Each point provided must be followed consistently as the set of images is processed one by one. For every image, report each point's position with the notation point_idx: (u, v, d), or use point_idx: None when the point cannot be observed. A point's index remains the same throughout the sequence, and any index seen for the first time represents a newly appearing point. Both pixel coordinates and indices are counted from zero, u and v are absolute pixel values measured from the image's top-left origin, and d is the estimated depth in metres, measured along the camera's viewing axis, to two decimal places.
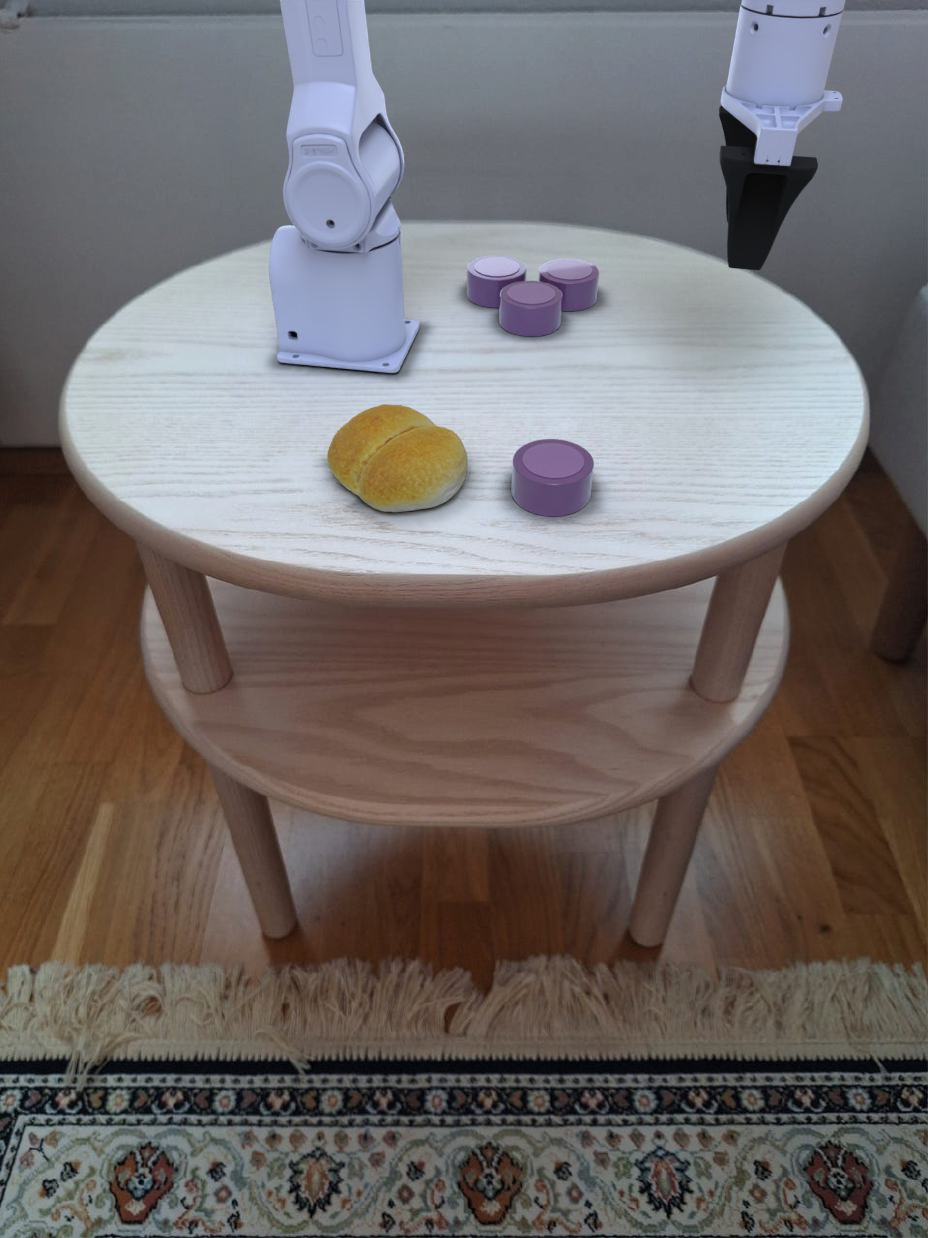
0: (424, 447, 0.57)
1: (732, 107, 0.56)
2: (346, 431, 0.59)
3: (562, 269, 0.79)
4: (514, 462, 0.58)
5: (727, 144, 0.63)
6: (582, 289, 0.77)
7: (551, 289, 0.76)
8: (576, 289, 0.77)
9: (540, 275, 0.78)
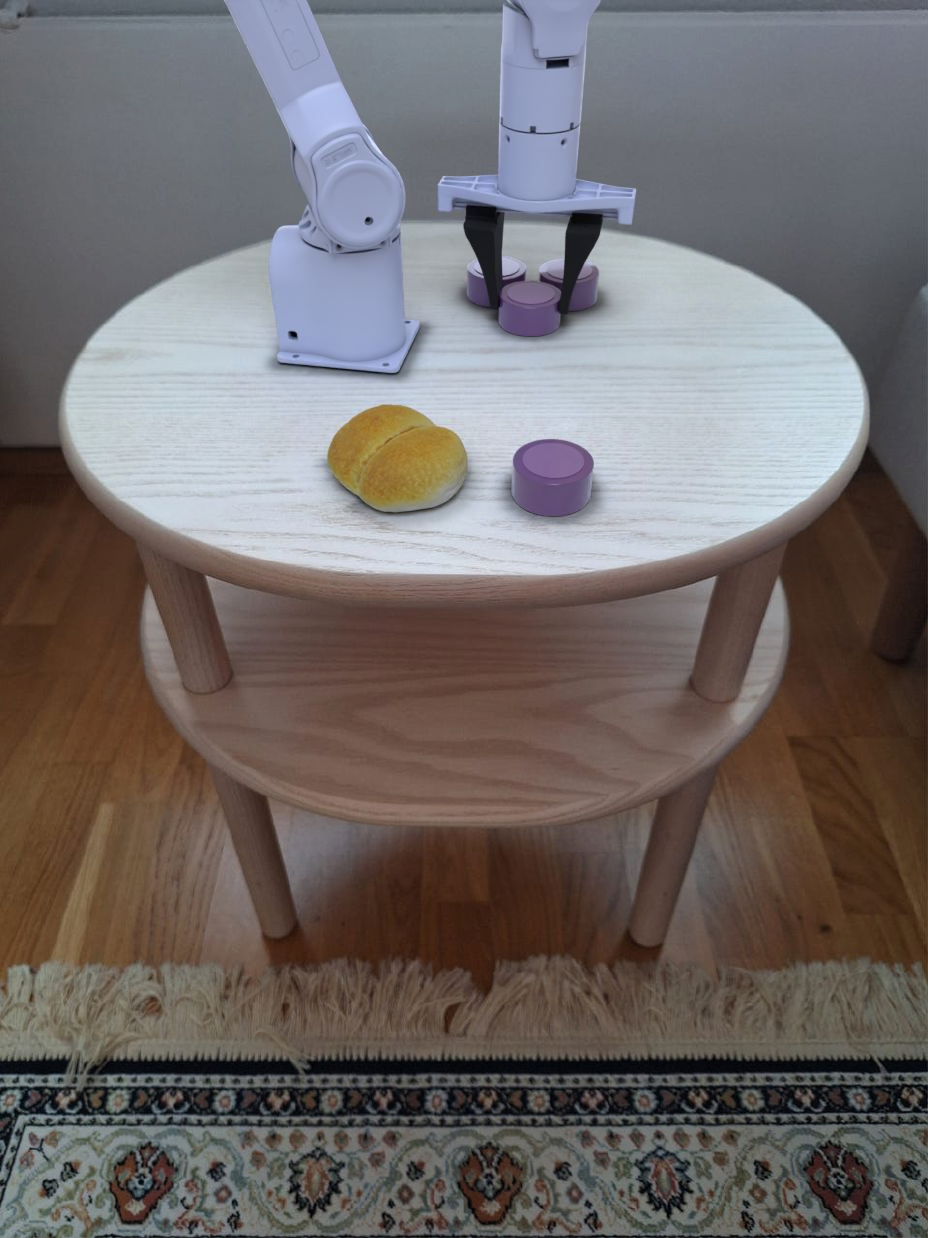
0: (424, 447, 0.57)
1: (563, 205, 0.68)
2: (346, 431, 0.59)
3: (562, 269, 0.79)
4: (514, 462, 0.58)
5: (495, 250, 0.72)
6: (582, 289, 0.77)
7: (550, 289, 0.76)
8: (576, 289, 0.77)
9: (540, 275, 0.78)
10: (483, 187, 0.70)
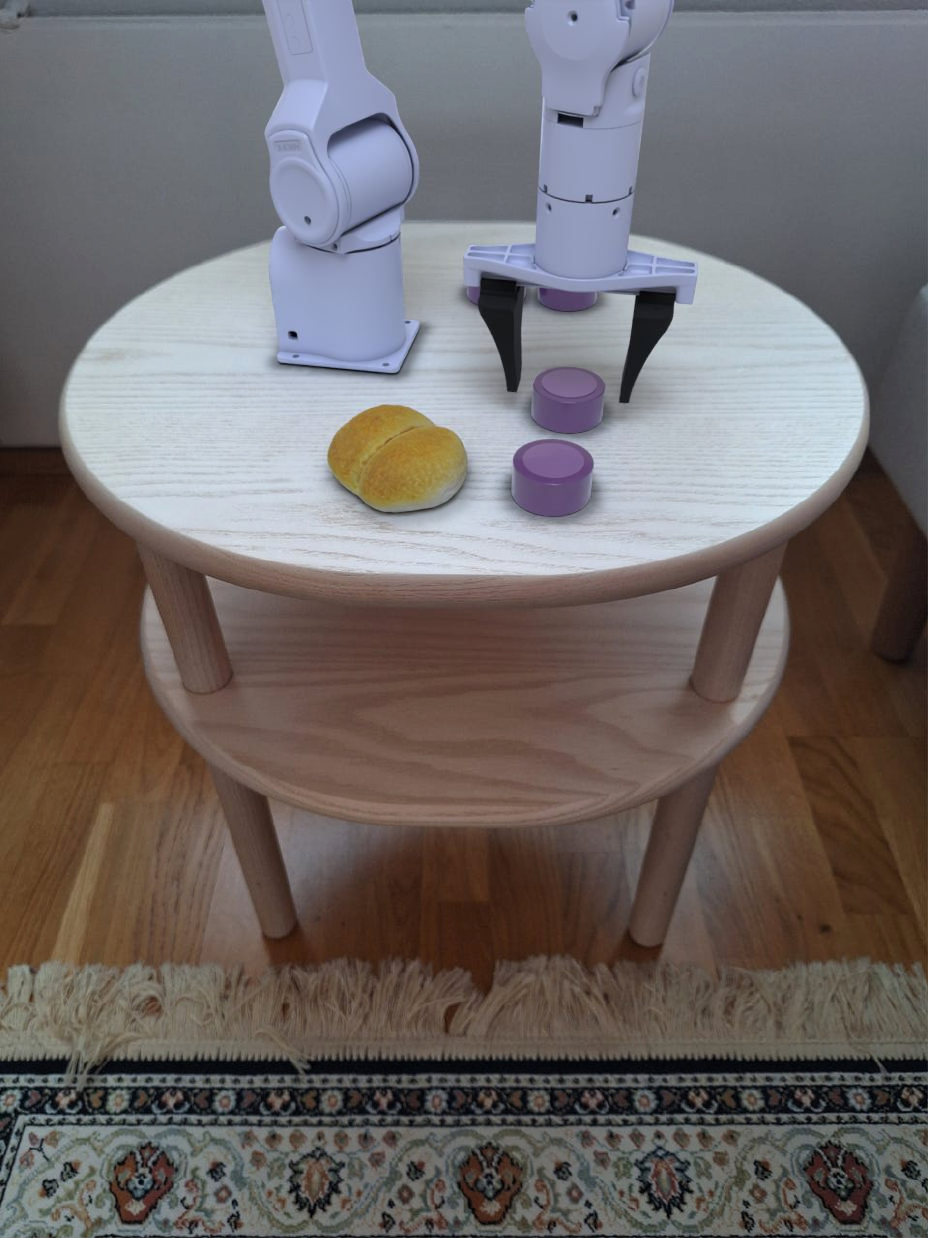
0: (424, 447, 0.57)
1: (613, 284, 0.57)
2: (346, 431, 0.59)
3: None
4: (514, 462, 0.58)
5: (514, 331, 0.61)
6: None
7: (592, 378, 0.66)
8: None
9: None
10: (517, 259, 0.60)
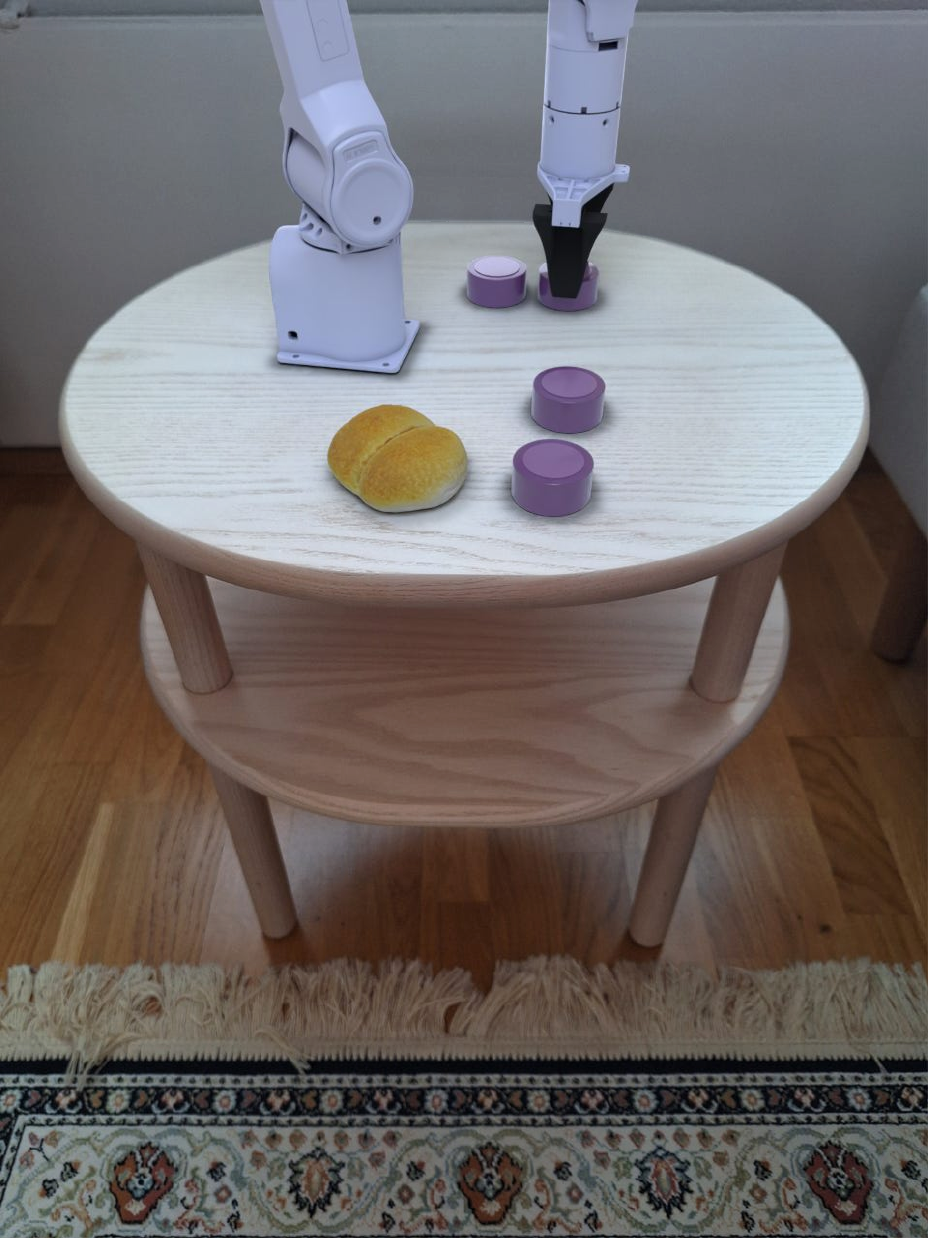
0: (424, 447, 0.57)
1: (541, 179, 0.72)
2: (346, 432, 0.59)
3: None
4: (514, 462, 0.58)
5: None
6: (582, 288, 0.77)
7: (592, 378, 0.66)
8: None
9: (540, 275, 0.78)
10: None
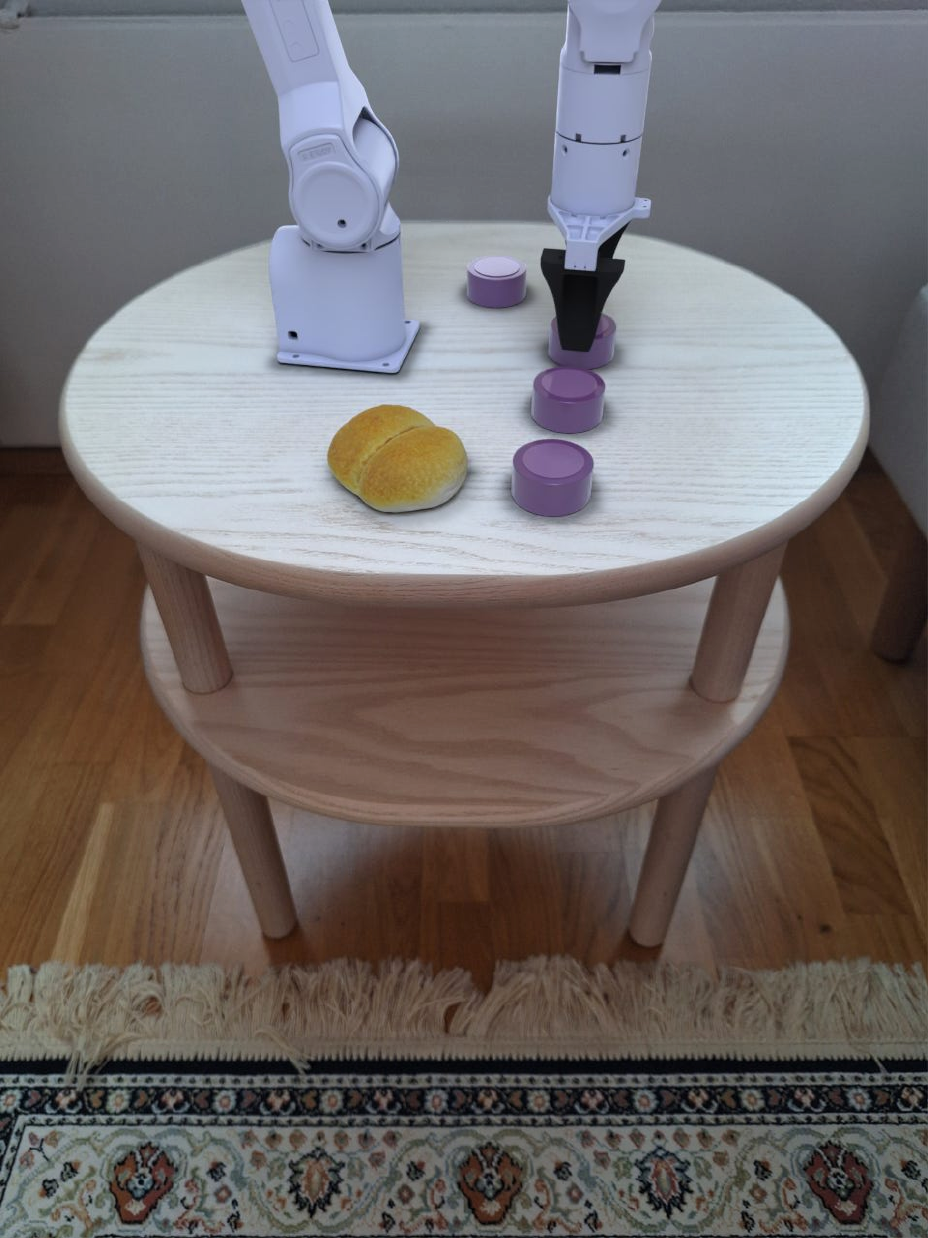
0: (424, 447, 0.57)
1: (553, 215, 0.64)
2: (346, 432, 0.59)
3: None
4: (514, 462, 0.58)
5: None
6: (598, 346, 0.70)
7: (592, 378, 0.66)
8: None
9: (551, 330, 0.71)
10: None
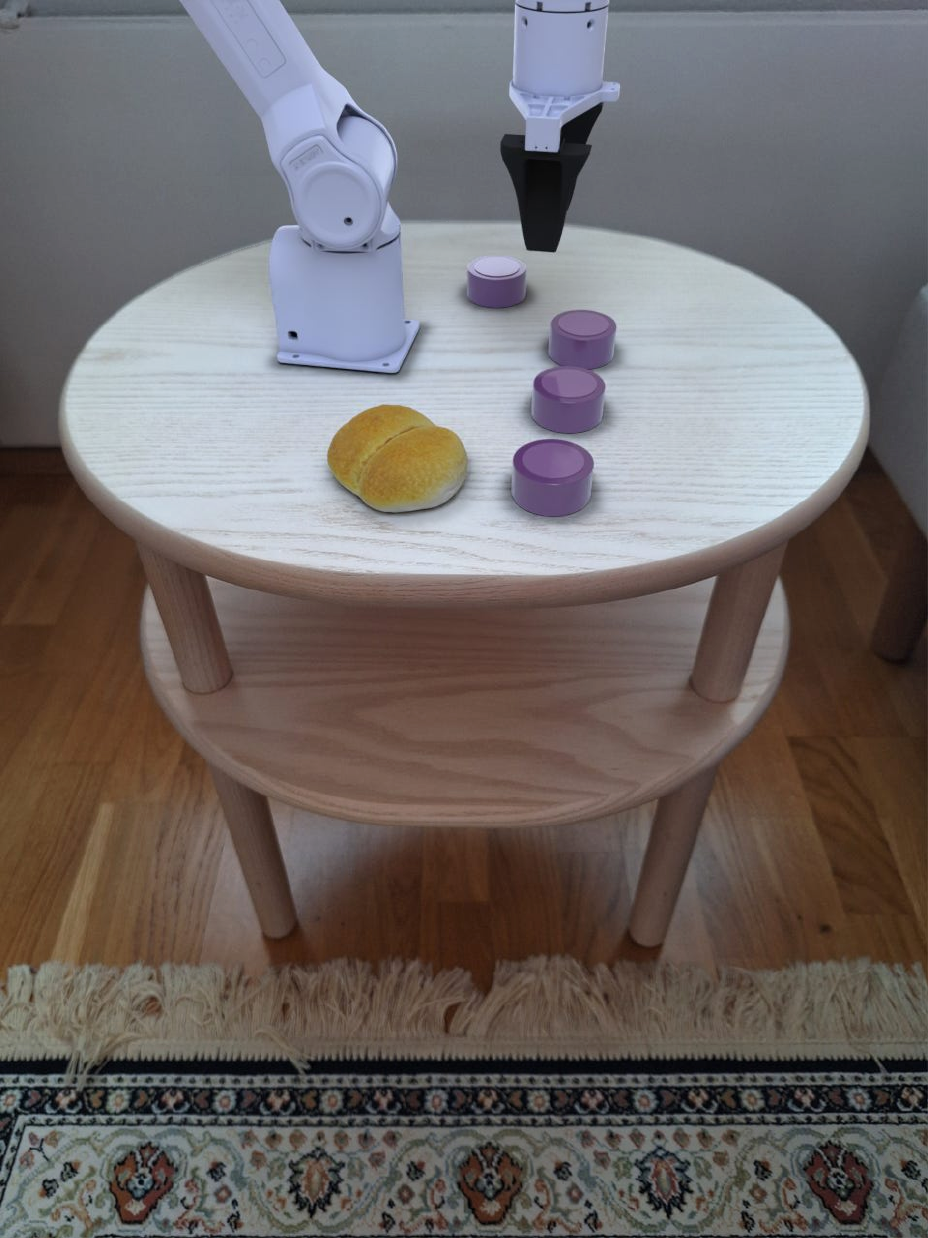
0: (424, 447, 0.57)
1: (514, 97, 0.60)
2: (346, 432, 0.59)
3: (575, 323, 0.71)
4: (514, 462, 0.58)
5: None
6: (598, 346, 0.70)
7: (592, 378, 0.66)
8: (591, 346, 0.70)
9: (551, 330, 0.71)
10: None
